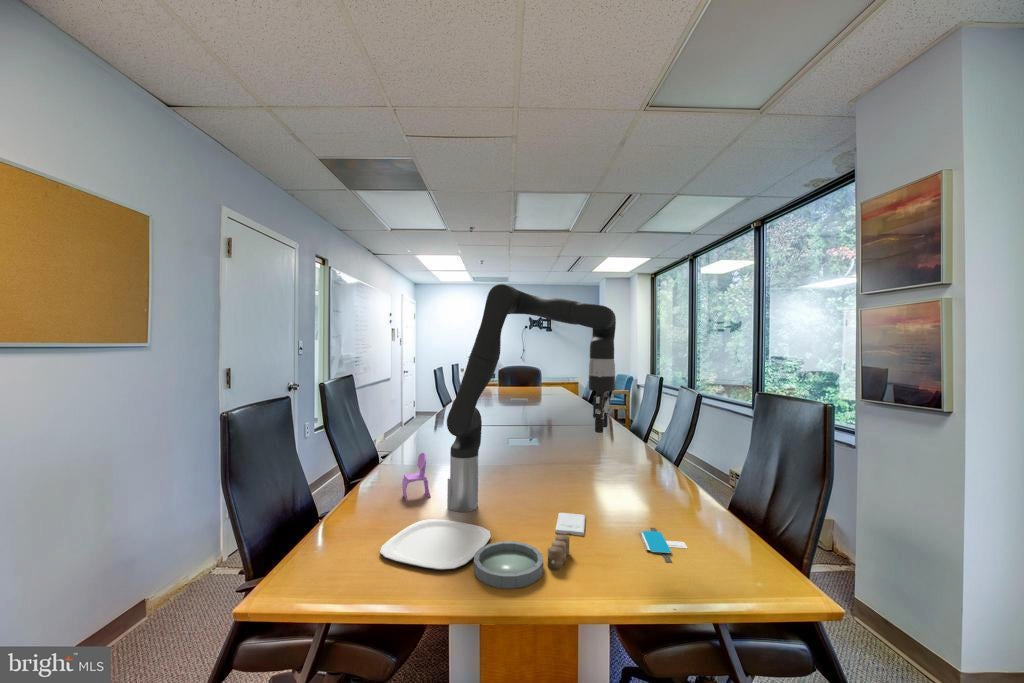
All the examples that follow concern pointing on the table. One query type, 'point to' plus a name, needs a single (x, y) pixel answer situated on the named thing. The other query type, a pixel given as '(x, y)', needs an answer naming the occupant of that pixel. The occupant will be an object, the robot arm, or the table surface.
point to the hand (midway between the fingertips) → (601, 429)
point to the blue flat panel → (659, 543)
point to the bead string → (558, 552)
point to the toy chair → (417, 476)
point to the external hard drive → (570, 524)
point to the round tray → (508, 565)
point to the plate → (436, 544)
